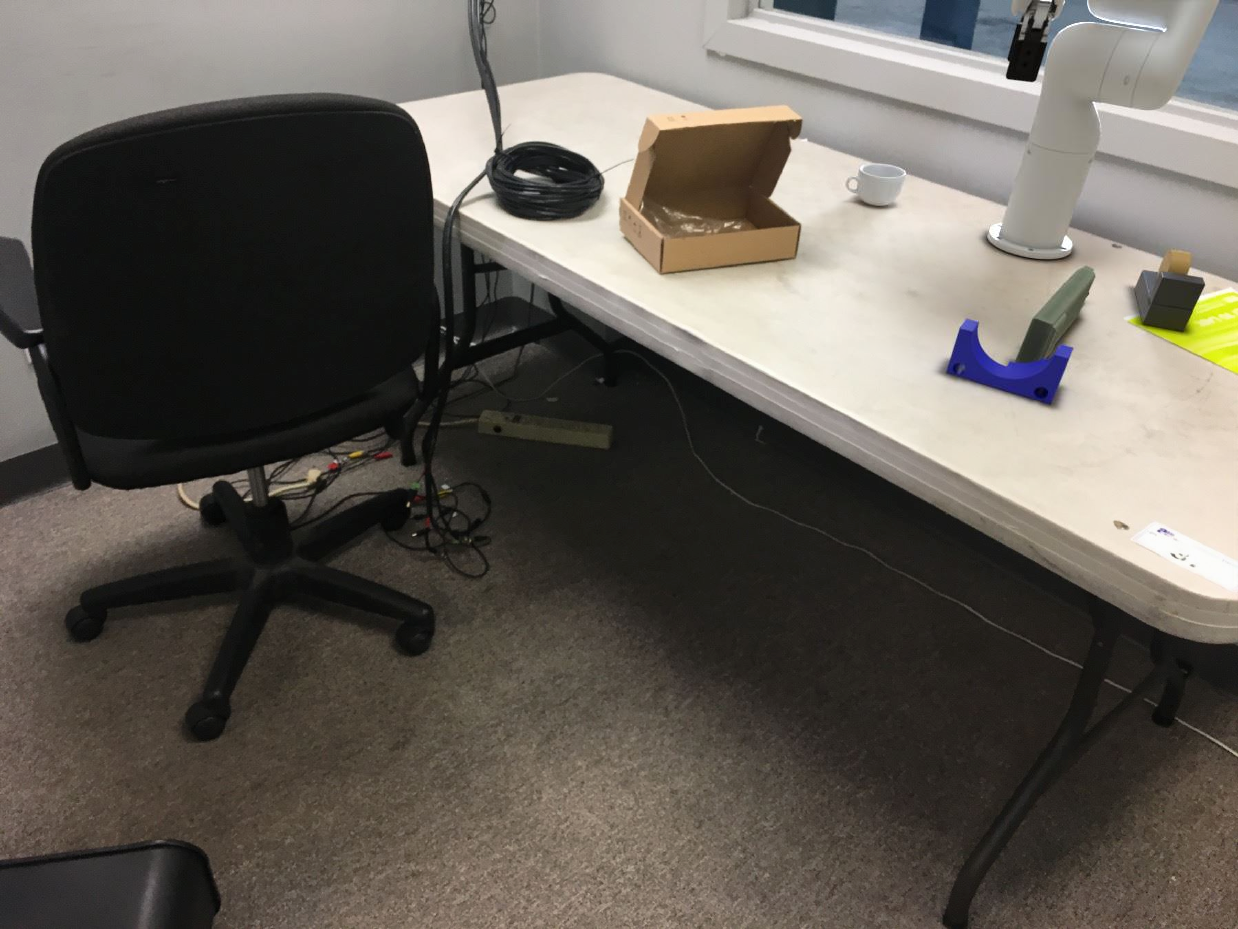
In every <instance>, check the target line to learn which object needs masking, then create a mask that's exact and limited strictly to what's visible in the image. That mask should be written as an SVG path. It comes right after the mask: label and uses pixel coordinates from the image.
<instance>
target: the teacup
mask: <svg viewBox="0 0 1238 929" xmlns="http://www.w3.org/2000/svg"><path fill="white" fill-rule="evenodd" d="M906 175H907V171H906V170H905V169H903V168H902V167H899V166H896V165H892V164H888V163H876V162H875V163H866V164H862V165H860V166H859V168H858V173H857V175H852V176H850V177H848V178H847V179H846V181H845V188H846V189H847V191H849V192H850V193H853V194H856V195H858V197H859V198H860V199H861V200H862V202H863V203H864V204H867V205H870V206H873V207H874V206H875V207H885V206H889V205H890V204H892V203H894V202H895V201H896V200H897V199H898V197H899V196H900V194H901V192H902V188H903V186H904V183H905V180H906V177H907V176H906ZM852 180H855V181H856V189H855V188H854V189H853V188H850V186H849V185H850V182H851V181H852Z"/></svg>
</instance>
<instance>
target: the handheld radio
mask: <svg viewBox="0 0 1238 929" xmlns="http://www.w3.org/2000/svg"><path fill="white" fill-rule="evenodd" d="M1094 271H1095V268H1093V267H1090V266H1089V265H1084V266H1083V267H1080V268H1078V269H1077V270H1075V271H1074V272H1073V273H1072V275H1070V277H1069V278H1068V279H1067V280H1066V281H1065V282H1063V284H1062V285H1061V286H1060V287H1059V288H1058V290H1057V291H1055V293H1054V294H1053V295H1052V296H1051V297H1050V299H1048V301H1047V302H1046V303H1045V304H1044V305H1043V306H1042V307H1041V309H1039V310H1038V311H1037V313H1036V314H1035V315H1034V316H1033V317H1032V319H1031V322H1030V324H1029V326H1028V328H1027V331H1026V333H1025V335H1024V338H1023V341H1022V343H1021V346H1020V348H1019V351H1018V353H1017V355H1016V358H1015V361H1014V362H1015V363H1031V362H1035V361H1039V360H1041V359H1046V360H1047V359H1048V358H1049V356H1050V354H1052V352H1053V350H1054V348H1055V346H1056V344H1057V342H1059V340H1060V339H1061V338H1062V337H1063V335H1064V334H1065V333H1066V332H1067V331H1068V330H1069V328H1070V327H1071V326H1072V325H1073V323H1074V322H1075V321H1076V319H1077V318H1078V317H1079V315H1080V313H1081V310H1082V308H1083V306H1084V303H1085V301H1086V300H1087V298H1088V296H1089V295H1090V290H1091V288H1092V286H1093V283H1094V281H1095V279H1096V273H1095V272H1094Z"/></svg>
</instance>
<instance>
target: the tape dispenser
mask: <svg viewBox="0 0 1238 929" xmlns="http://www.w3.org/2000/svg"><path fill="white" fill-rule="evenodd" d="M1192 258H1193V257H1192V253H1191V252H1189V251H1182V250H1176V249H1169V250H1167V252H1166V253H1165V254H1164V256H1163V258H1162V260H1161V262H1160V265H1159V268H1158V271H1153V270H1147V269H1142V270H1141V272H1140V274H1139V277H1138V279H1137V282H1136V284H1135V286H1134V292H1135V297H1136V301H1137V305H1138V310H1139V311H1138V312H1139V315H1140V320H1141V323H1142V325H1145V326H1151V327H1155V328H1161V329H1167V330H1174V331H1179V332H1184V331H1185V329H1186V328H1187V325H1188V323H1189V321H1190V319H1191V317H1192V315H1193V313H1194V310H1195V307H1196V305H1197V303H1198V302H1199V299H1200V297H1201V295H1202V293H1203V291H1204V289H1205V287H1206V282H1205V279H1204V278H1203V277H1202V276H1196V275H1190V274H1189V271H1190V268H1191V265H1192Z"/></svg>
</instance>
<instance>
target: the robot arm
mask: <svg viewBox="0 0 1238 929" xmlns="http://www.w3.org/2000/svg"><path fill="white" fill-rule="evenodd" d="M1065 2H1066V0H1012V3H1011V9H1010V12H1011V14H1012V16H1013V17H1018V15H1019V14H1018V13H1021V15H1020V18H1019V23H1017V24H1016V26H1015V28H1014V29H1015V30H1014V33H1013V36H1012V40H1011V44H1010V48H1009V51H1008V54H1007V57H1006V58H1007V62H1008V66H1007V68H1006V73H1005V79H1006V80H1010V81H1016V82H1017V81H1018V82H1027V83H1034V82H1036V81H1037V79H1038V76H1039V73H1040V69H1041V66H1042V62H1043V60H1044V56H1045V53H1046V49H1047V46H1048V41H1047V40H1048V36H1049V33H1050V30H1051V24H1052V21H1054V20H1055V19H1058V18H1059V17H1060V15H1061V12H1062V10H1063V7H1064V4H1065ZM1219 2H1220V0H1087V7H1088V11H1089V12H1090V13H1091V14H1092V15H1093V16H1094V17H1096V18H1099V19H1101V20H1104V21H1108V22H1113V23H1118V24H1123V25H1124V24H1125V25H1129V26H1137V27H1144V28H1151V29H1157V30H1161V31H1162V32H1160V31H1154V30H1146V29H1140V28H1133V27H1129V26H1125V25H1124V26H1123V25H1117V24H1109V23H1101V22H1093V21H1092V22H1091V21H1089V22H1085V21H1084V22H1077V23H1073V24H1071V25H1068V26H1066V27H1065V28H1063V29H1061V30H1060V31H1058V33H1057V34H1056V35H1055V37H1054V38H1053V40H1052V41H1051V42H1050V45H1049V47H1048V51H1047V53H1046V58H1045V63H1044V69H1043V77H1042V82H1041V83H1042V84H1041V90H1040V95H1039V100H1038V104H1037V107H1036V112H1035V115H1034V119H1033V122H1032V126H1031V129H1030V132H1029V135H1028V138H1027V141H1026V145H1025V148H1024V151H1023V154H1022V158H1021V161H1020V164H1019V166H1018V169H1017V174H1016V177H1015V180H1014V183H1013V185H1012V190H1011V192H1010V195H1009V199H1008V202H1007V205H1006V209H1005V212H1004V215H1003V218H1002V222H1000V223H996V224H994V225H992V226H991V227H989V229H988V233H987V239H988V242H990V243H991V244H992V245H993V246H994V247H996V248H998V249H1000V250H1001V251H1004V252H1007V253H1010V254H1012V255H1015V256H1019V257H1025V258H1029V259H1038V260H1055V259H1061V258H1065V257H1068V256H1069V255H1070V254H1071V253H1072V250H1073V248H1074V243H1073V241H1072V239H1070V238H1069V237H1068V236H1067V233H1068V230H1069V228H1070V224H1071V221H1072V219H1073V216H1074V213H1075V210H1076V208H1077V206H1078V202H1079V200H1080V196H1081V194H1082V191H1083V188H1084V186H1085V184H1086V181H1087V177H1088V174H1089V172H1090V169H1091V167H1092V163H1093V160H1094V158H1095V155H1096V152H1097V150H1098V147H1099V145H1100V142H1101V137H1102V123H1101V120H1100V119H1101V118H1100V116H1099V113H1098V110H1097V108H1096V104H1095V103H1099V104H1102V103H1103V104H1107V105H1113V106H1117V107H1123V108H1124V107H1125V108H1129V109H1134V110H1140V111H1155V110H1159V109H1161V108H1163V107H1165V105H1167V104H1168V103H1169V102H1170V101H1171V99H1172V98H1173V97H1174V95H1175V94H1176V92H1177V90H1178V88H1179V87H1180V85H1181V83H1182V81H1183V78H1184V77H1185V75H1186V72H1187V71H1188V68H1189V66H1190V64H1191V63H1192V60H1193V59H1194V58H1193V57H1194V56H1195V54H1196V51H1197V49H1198V47H1199V45H1200V43H1201V41H1202V39H1203V37H1204V35H1205V32H1206V31H1207V28H1208V26H1209V24H1210V23H1211V20H1212V18H1213V16H1214V14H1215V12H1216V10H1217V7H1218V5H1219Z"/></svg>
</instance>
